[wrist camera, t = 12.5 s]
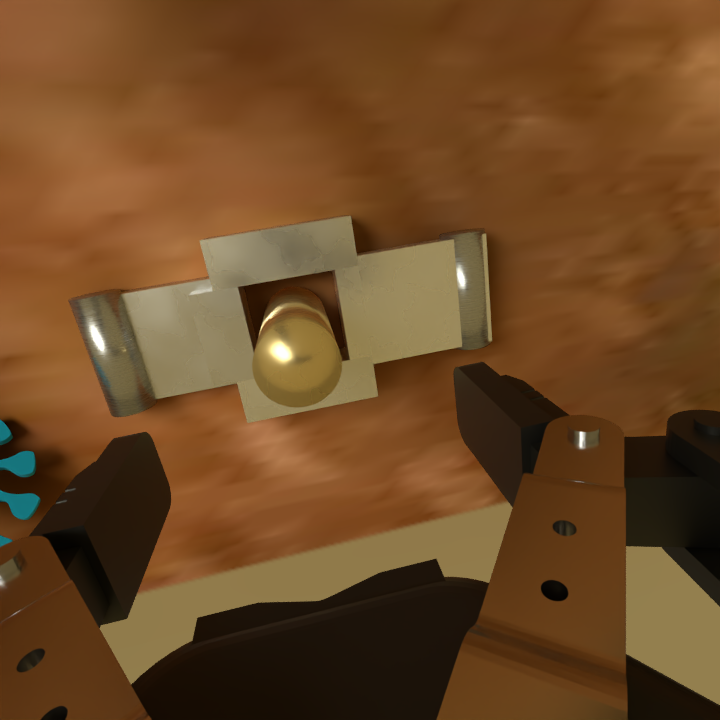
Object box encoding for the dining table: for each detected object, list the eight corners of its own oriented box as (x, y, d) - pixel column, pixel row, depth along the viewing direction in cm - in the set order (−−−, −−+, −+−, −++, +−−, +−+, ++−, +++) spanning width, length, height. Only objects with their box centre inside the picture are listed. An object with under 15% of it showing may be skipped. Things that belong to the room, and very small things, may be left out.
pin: (258, 292, 25) (242, 332, 17) (319, 281, 26) (334, 315, 17) (271, 350, 27) (263, 415, 18) (330, 339, 27) (348, 398, 18)
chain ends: (68, 260, 23) (41, 266, 21) (469, 194, 25) (489, 193, 23) (130, 429, 27) (113, 452, 24) (480, 359, 29) (499, 373, 26)
